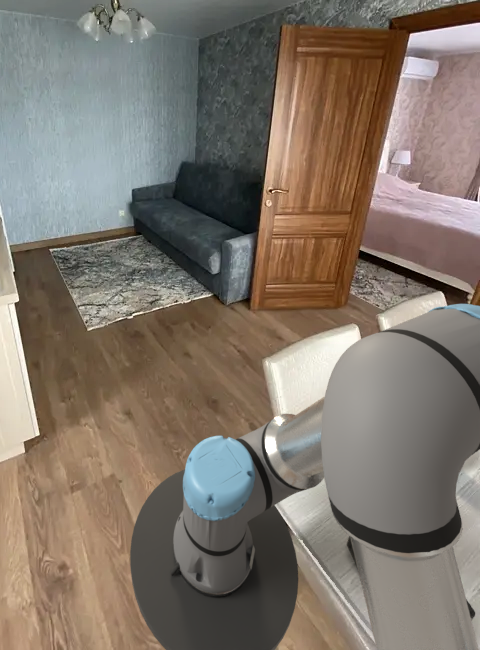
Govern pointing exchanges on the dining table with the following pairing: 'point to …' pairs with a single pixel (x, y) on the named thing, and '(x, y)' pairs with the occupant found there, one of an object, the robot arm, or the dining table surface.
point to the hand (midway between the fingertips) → (370, 495)
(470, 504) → the dining table surface
